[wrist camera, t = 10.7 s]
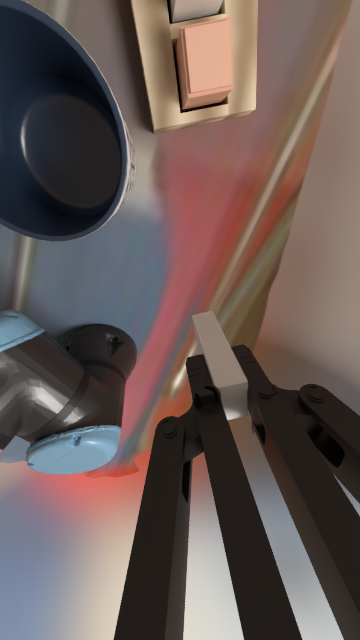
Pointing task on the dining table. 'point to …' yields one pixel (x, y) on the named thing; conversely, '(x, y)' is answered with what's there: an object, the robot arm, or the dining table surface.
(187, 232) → the dining table surface
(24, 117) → the planter
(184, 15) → the key mid
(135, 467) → the dining table surface
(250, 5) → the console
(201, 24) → the key
